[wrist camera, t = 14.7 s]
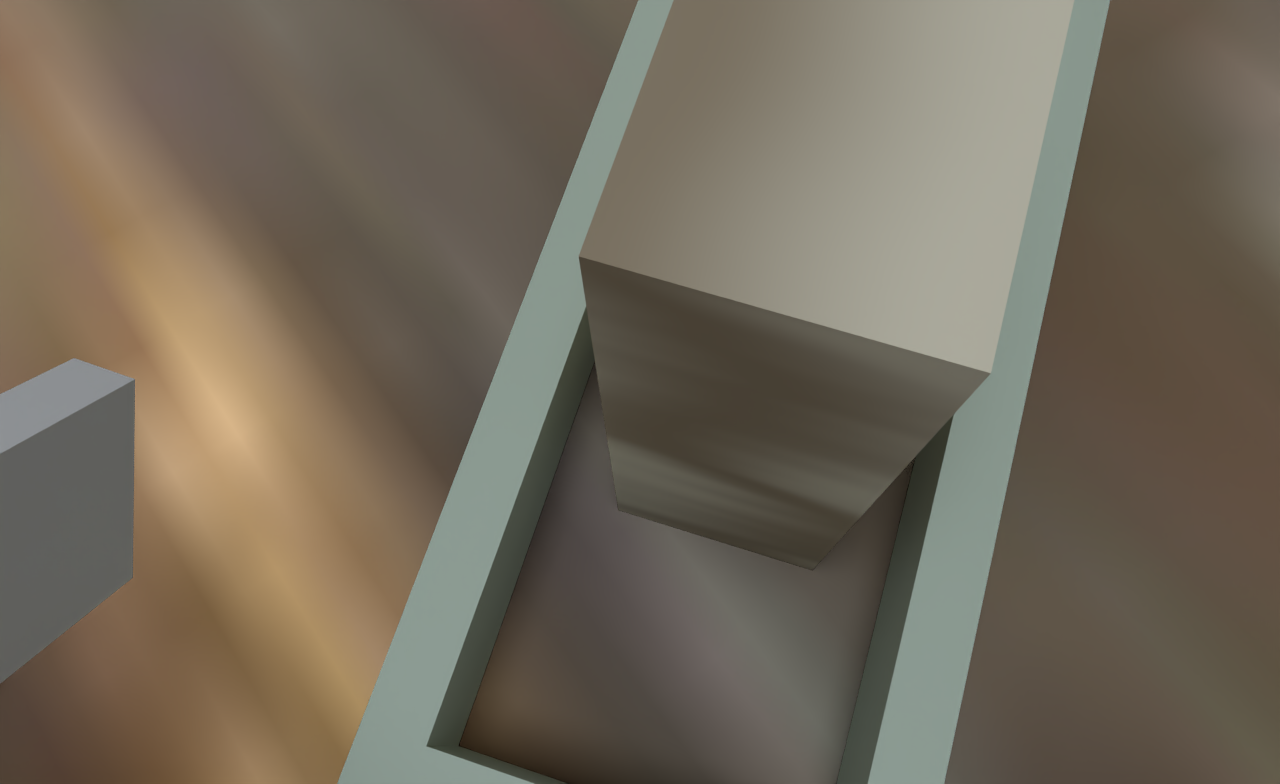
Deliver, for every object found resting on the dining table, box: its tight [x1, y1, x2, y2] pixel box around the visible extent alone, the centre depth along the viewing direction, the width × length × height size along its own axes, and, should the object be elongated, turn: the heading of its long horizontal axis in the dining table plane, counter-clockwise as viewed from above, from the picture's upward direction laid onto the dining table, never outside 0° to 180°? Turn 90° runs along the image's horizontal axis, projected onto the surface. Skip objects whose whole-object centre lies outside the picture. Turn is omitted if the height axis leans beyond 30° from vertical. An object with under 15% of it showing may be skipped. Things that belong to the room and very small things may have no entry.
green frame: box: [337, 0, 1110, 784], centre depth 18 cm, size 8×17×2 cm, turn 162°
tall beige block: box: [579, 0, 1074, 570], centre depth 14 cm, size 4×6×10 cm, turn 162°
